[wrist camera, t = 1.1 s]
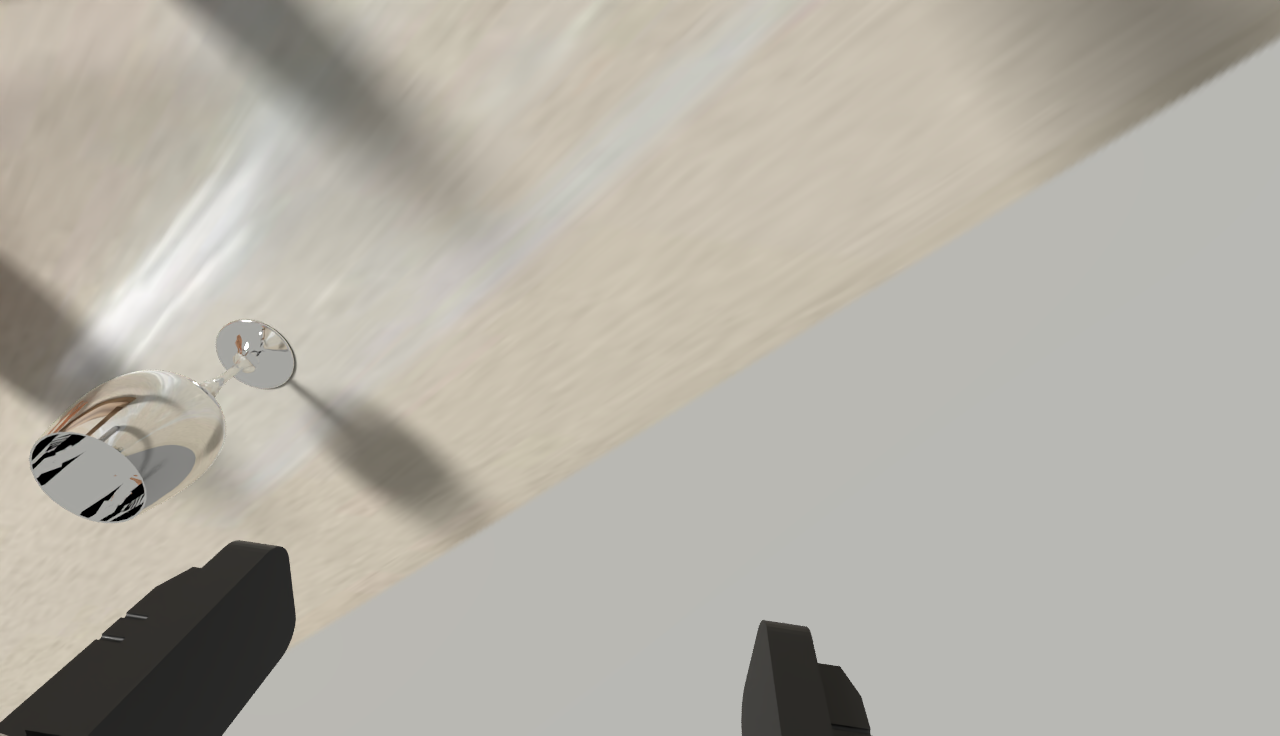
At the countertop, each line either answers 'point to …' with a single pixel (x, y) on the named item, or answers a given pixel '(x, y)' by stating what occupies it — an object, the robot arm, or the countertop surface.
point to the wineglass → (150, 430)
